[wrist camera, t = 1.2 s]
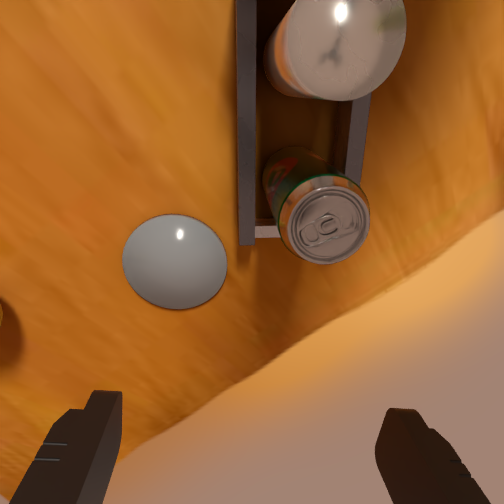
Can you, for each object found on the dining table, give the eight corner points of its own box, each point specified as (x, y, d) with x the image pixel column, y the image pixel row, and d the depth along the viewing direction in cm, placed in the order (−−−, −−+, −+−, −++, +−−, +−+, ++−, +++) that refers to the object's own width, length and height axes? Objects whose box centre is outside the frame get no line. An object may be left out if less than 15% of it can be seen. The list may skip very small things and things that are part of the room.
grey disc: (117, 214, 30) (114, 217, 29) (225, 213, 30) (225, 215, 30) (131, 306, 34) (129, 310, 33) (228, 304, 34) (228, 307, 34)
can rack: (234, -27, 24) (237, -80, 16) (367, -25, 24) (426, -75, 17) (238, 229, 31) (241, 271, 24) (340, 227, 32) (373, 268, 24)
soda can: (331, 190, 30) (389, 247, 19) (276, 216, 31) (302, 285, 20) (309, 133, 28) (359, 160, 17) (251, 162, 29) (264, 205, 18)
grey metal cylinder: (263, 18, 25) (290, -40, 14) (335, 19, 25) (416, -37, 14) (262, 97, 27) (285, 100, 16) (328, 97, 27) (395, 101, 16)
